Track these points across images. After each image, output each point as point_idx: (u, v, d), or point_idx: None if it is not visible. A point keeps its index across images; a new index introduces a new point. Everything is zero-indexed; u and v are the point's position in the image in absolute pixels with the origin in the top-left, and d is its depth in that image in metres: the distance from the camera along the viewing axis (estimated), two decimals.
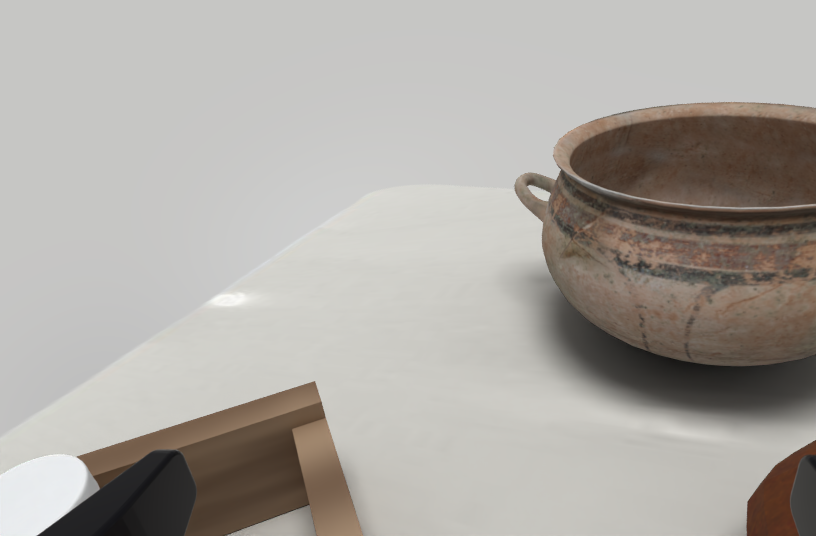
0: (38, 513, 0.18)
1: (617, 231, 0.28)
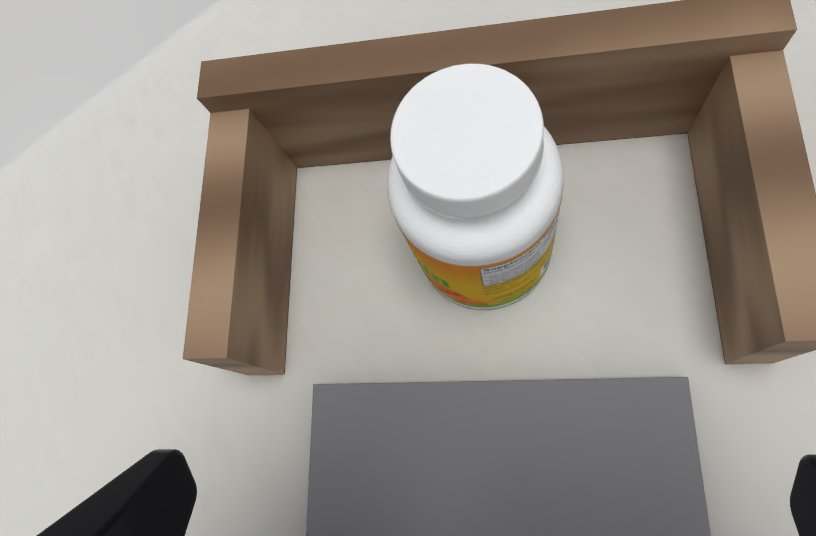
0: (493, 155, 0.14)
1: None
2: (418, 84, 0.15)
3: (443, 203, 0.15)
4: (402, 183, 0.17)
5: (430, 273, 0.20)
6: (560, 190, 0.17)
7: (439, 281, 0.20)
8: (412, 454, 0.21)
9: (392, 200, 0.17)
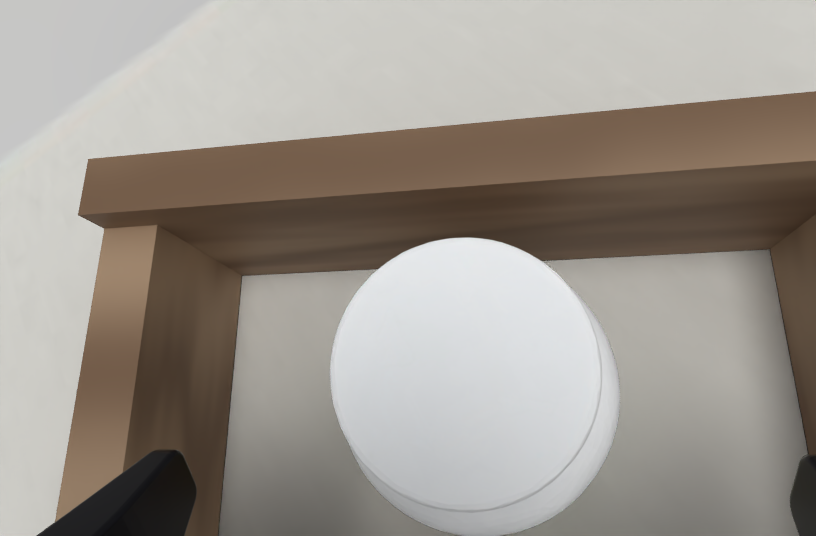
0: (509, 425, 0.08)
1: None
2: (380, 271, 0.09)
3: (420, 501, 0.08)
4: None
5: None
6: (616, 422, 0.10)
7: None
8: None
9: None
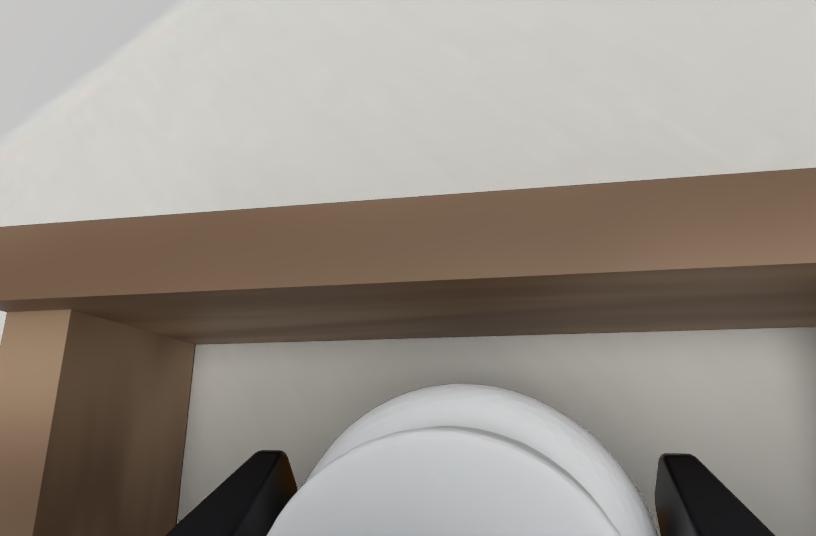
0: None
1: None
2: (318, 481, 0.06)
3: None
4: None
5: None
6: None
7: None
8: None
9: None
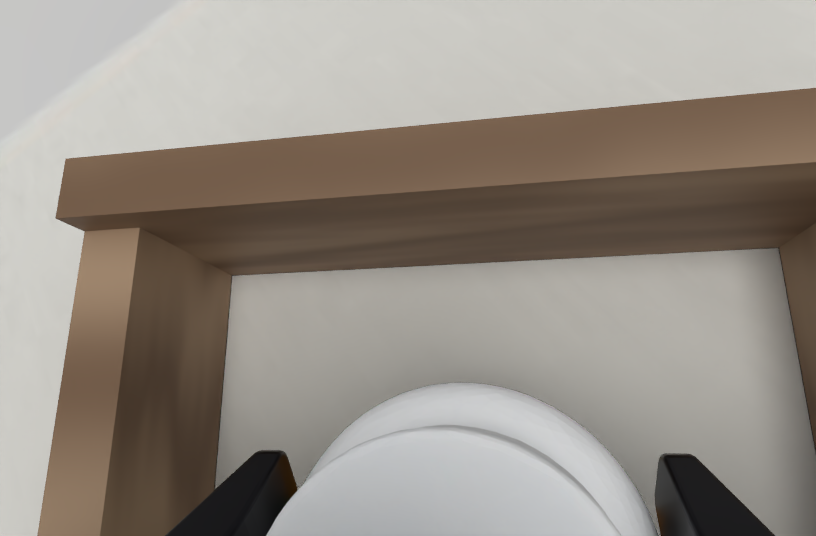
0: None
1: None
2: (317, 481, 0.06)
3: None
4: None
5: None
6: None
7: None
8: None
9: None
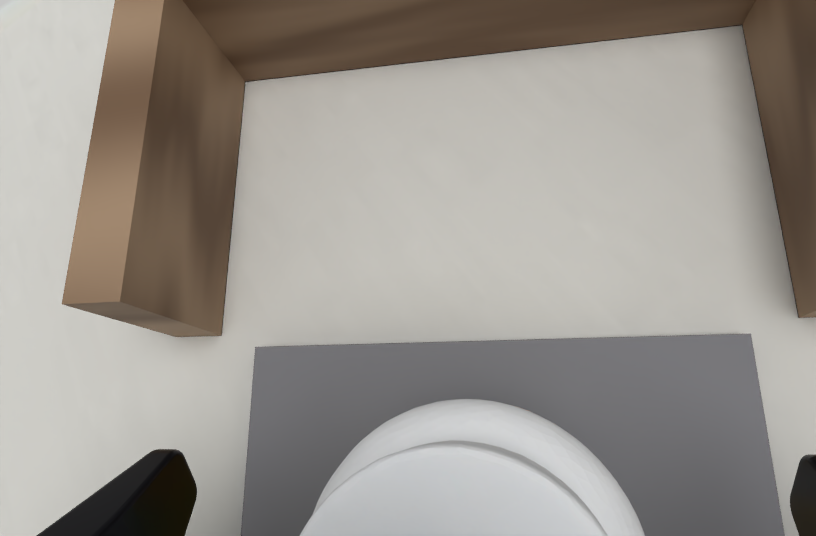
0: None
1: None
2: (342, 492, 0.06)
3: None
4: None
5: None
6: None
7: None
8: None
9: None
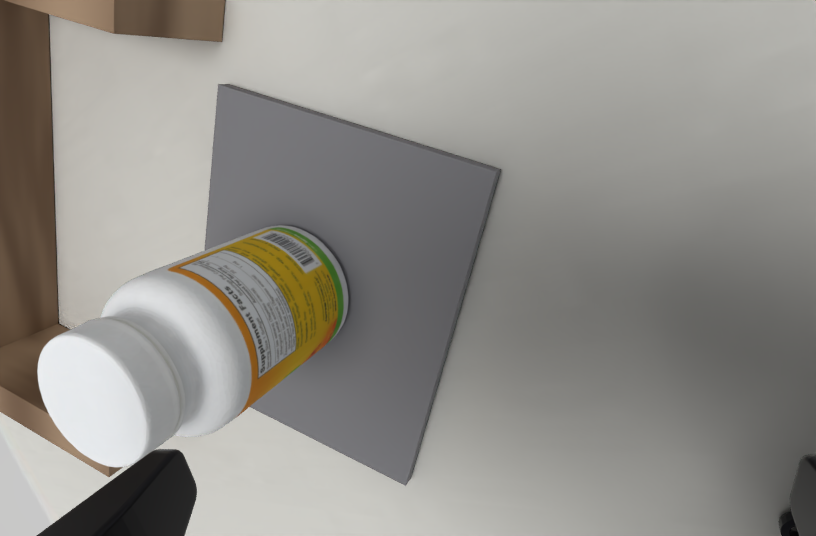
0: (113, 395, 0.15)
1: None
2: (51, 417, 0.16)
3: (153, 445, 0.15)
4: None
5: None
6: (190, 296, 0.16)
7: (291, 372, 0.21)
8: None
9: (176, 435, 0.18)
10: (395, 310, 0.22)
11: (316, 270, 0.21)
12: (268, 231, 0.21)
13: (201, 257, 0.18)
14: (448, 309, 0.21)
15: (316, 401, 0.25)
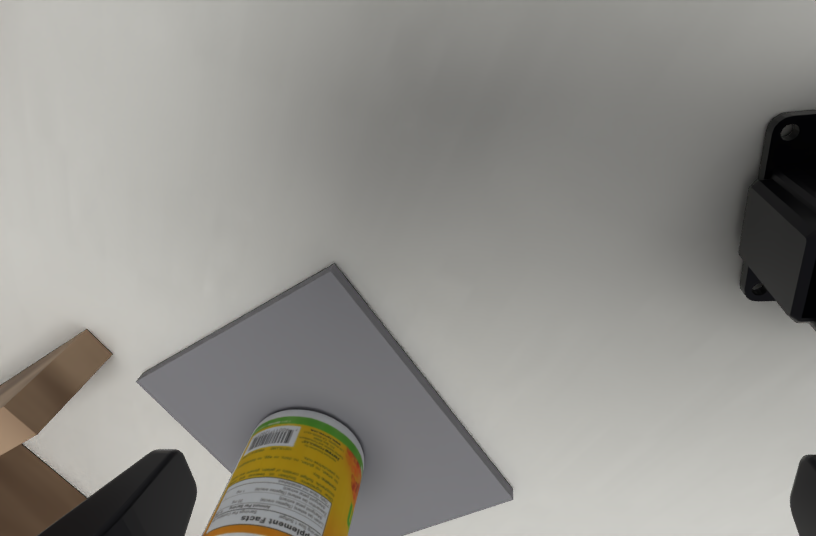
0: None
1: None
2: None
3: None
4: None
5: (349, 526, 0.23)
6: None
7: (351, 514, 0.24)
8: None
9: None
10: (377, 404, 0.25)
11: (300, 435, 0.24)
12: (251, 439, 0.25)
13: (216, 509, 0.22)
14: (403, 372, 0.24)
15: (402, 503, 0.28)
